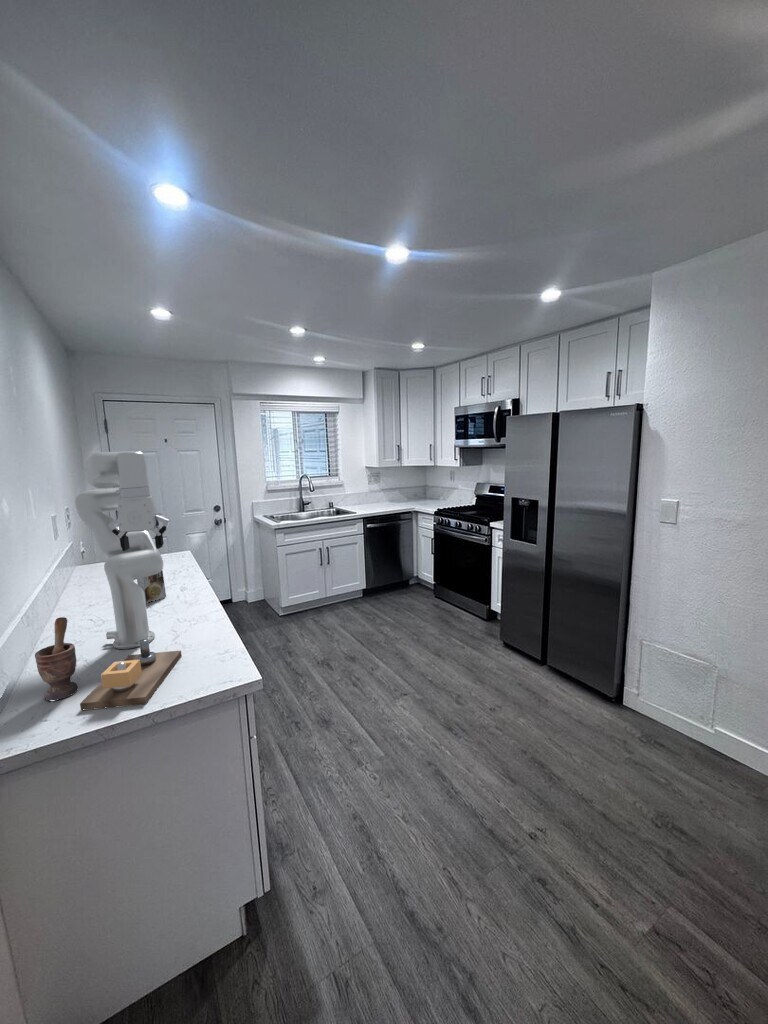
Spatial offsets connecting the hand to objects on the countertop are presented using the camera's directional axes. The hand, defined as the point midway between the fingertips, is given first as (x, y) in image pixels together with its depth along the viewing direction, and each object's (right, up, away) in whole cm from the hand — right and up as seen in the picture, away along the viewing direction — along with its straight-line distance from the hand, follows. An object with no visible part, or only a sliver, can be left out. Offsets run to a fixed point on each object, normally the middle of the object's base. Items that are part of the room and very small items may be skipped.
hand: (142, 548), depth 129 cm
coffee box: (-31, -29, +63) cm, 76 cm away
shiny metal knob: (+1, -35, 0) cm, 35 cm away
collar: (+3, -35, -14) cm, 37 cm away
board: (+2, -38, -6) cm, 38 cm away
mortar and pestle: (-17, -39, -10) cm, 44 cm away
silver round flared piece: (+3, -37, -14) cm, 39 cm away
